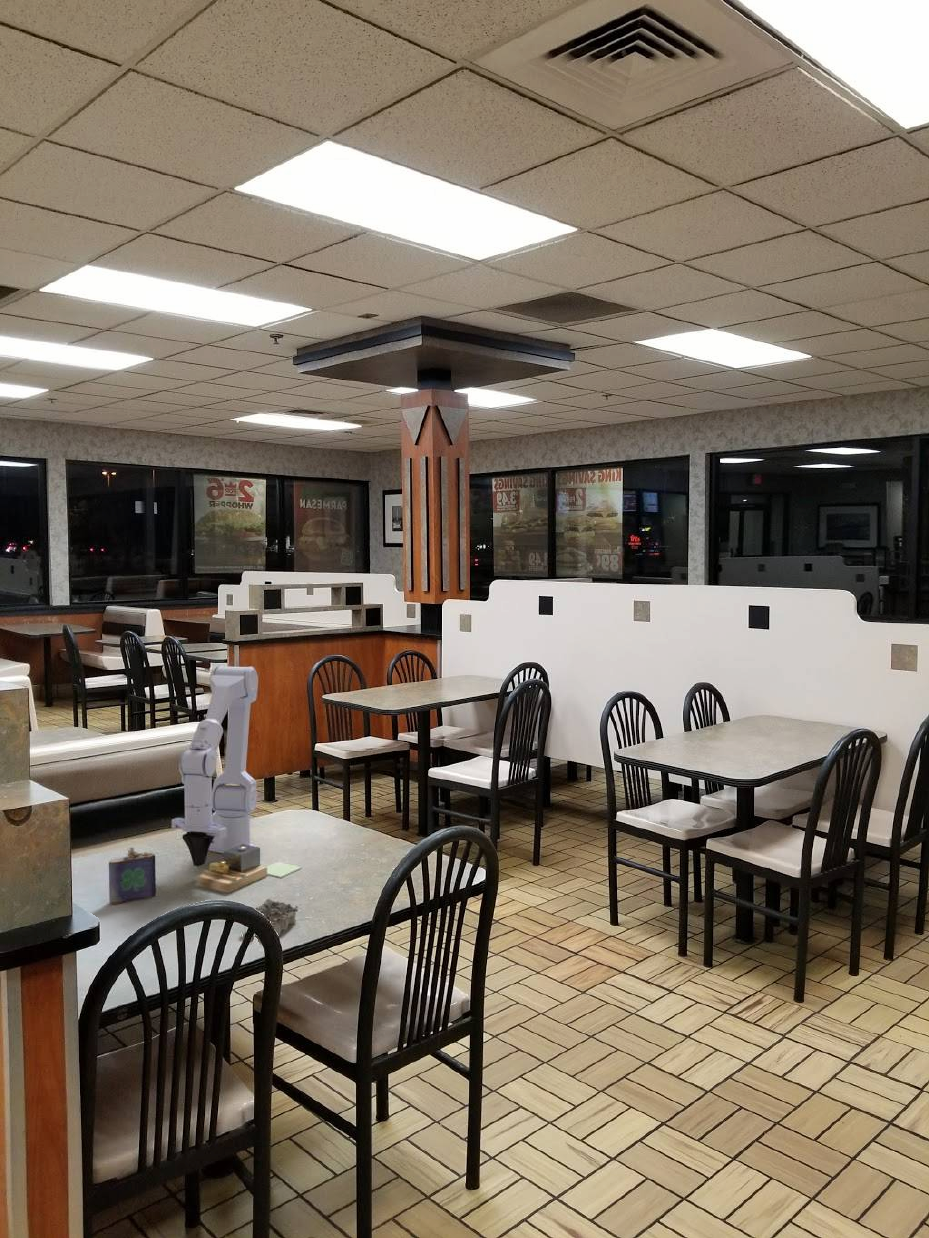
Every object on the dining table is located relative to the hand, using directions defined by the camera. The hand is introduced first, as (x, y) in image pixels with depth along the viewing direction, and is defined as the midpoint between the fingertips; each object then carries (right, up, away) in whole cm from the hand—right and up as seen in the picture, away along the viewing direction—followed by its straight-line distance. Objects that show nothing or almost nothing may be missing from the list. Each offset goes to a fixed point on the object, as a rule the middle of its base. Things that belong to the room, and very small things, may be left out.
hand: (199, 864), depth 207 cm
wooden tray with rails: (+8, -3, -1) cm, 8 cm away
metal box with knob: (+9, -1, +1) cm, 9 cm away
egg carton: (+21, -6, -26) cm, 33 cm away
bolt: (+5, -1, -3) cm, 6 cm away
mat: (+16, -3, +5) cm, 18 cm away
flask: (-10, -4, -12) cm, 17 cm away
